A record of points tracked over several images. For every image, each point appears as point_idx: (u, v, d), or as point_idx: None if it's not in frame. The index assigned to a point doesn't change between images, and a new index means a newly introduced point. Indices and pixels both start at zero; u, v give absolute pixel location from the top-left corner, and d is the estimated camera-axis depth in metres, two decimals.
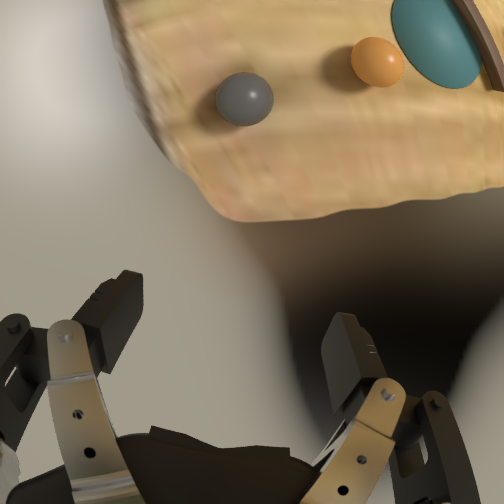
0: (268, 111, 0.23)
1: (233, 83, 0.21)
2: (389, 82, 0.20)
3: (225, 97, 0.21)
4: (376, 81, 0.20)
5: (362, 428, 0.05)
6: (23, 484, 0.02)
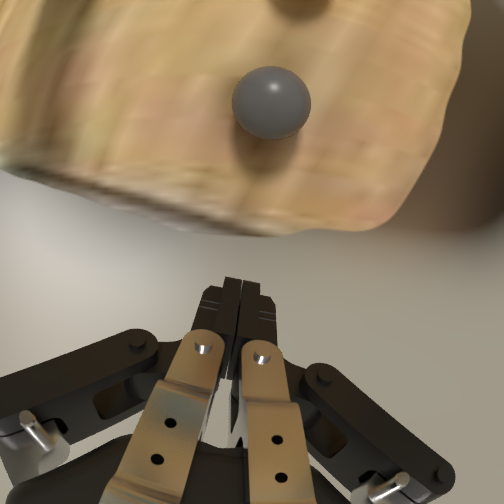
0: (305, 86, 0.16)
1: (245, 96, 0.15)
2: None
3: (256, 115, 0.16)
4: None
5: (257, 408, 0.05)
6: (22, 483, 0.02)
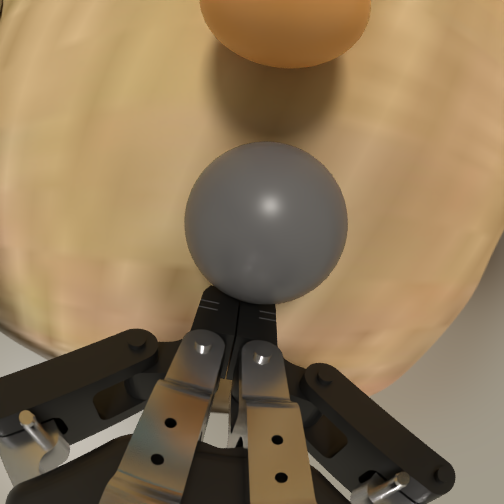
0: None
1: (226, 160, 0.08)
2: (366, 2, 0.05)
3: (265, 180, 0.07)
4: (349, 32, 0.05)
5: (257, 408, 0.05)
6: (22, 483, 0.02)
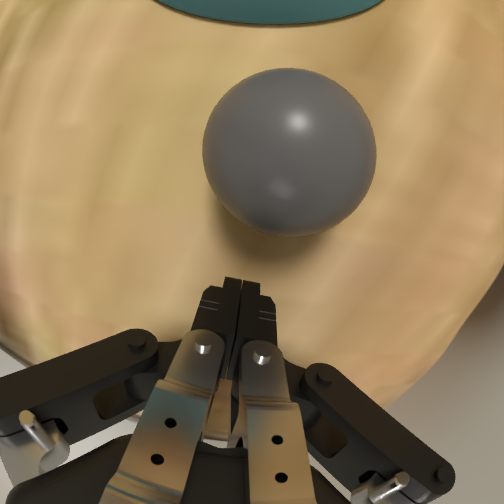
0: None
1: None
2: None
3: None
4: None
5: (257, 408, 0.05)
6: (22, 483, 0.02)
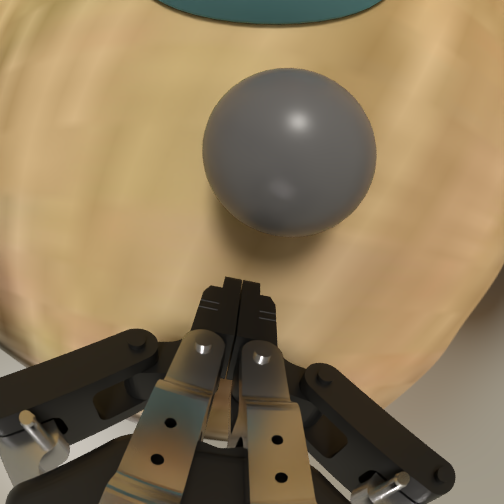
0: None
1: None
2: None
3: None
4: None
5: (257, 408, 0.05)
6: (22, 483, 0.02)
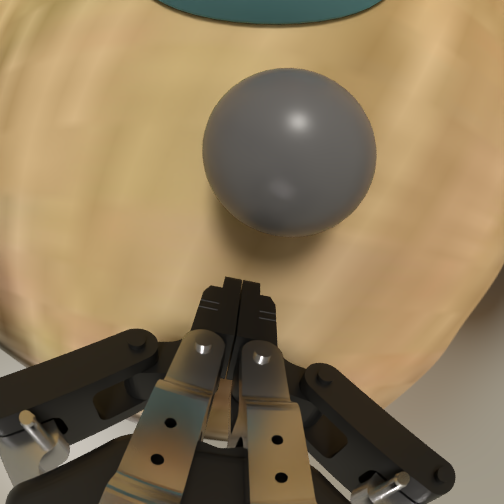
0: None
1: None
2: None
3: None
4: None
5: (257, 408, 0.05)
6: (22, 483, 0.02)
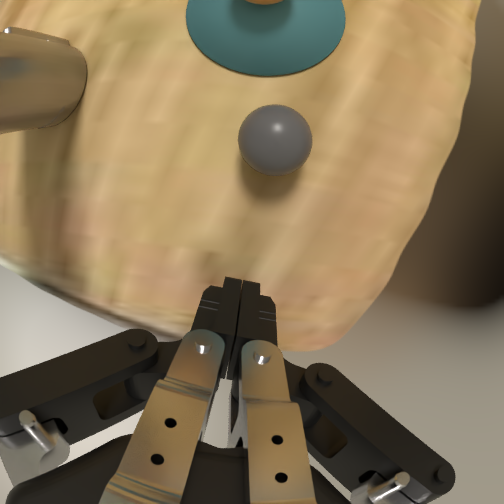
0: None
1: None
2: None
3: None
4: None
5: (257, 408, 0.05)
6: (22, 483, 0.02)
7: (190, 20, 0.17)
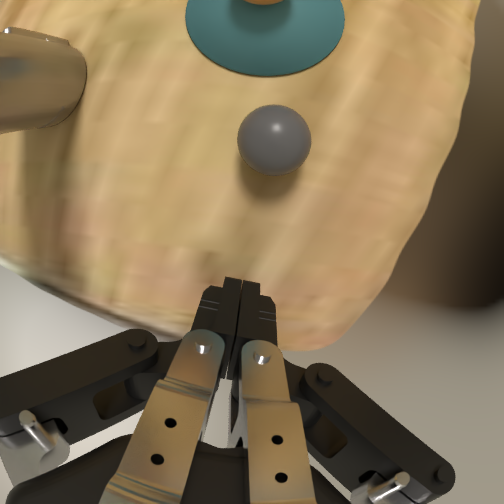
0: None
1: None
2: None
3: None
4: (282, 0, 0.15)
5: (257, 408, 0.05)
6: (22, 483, 0.02)
7: (189, 20, 0.17)
